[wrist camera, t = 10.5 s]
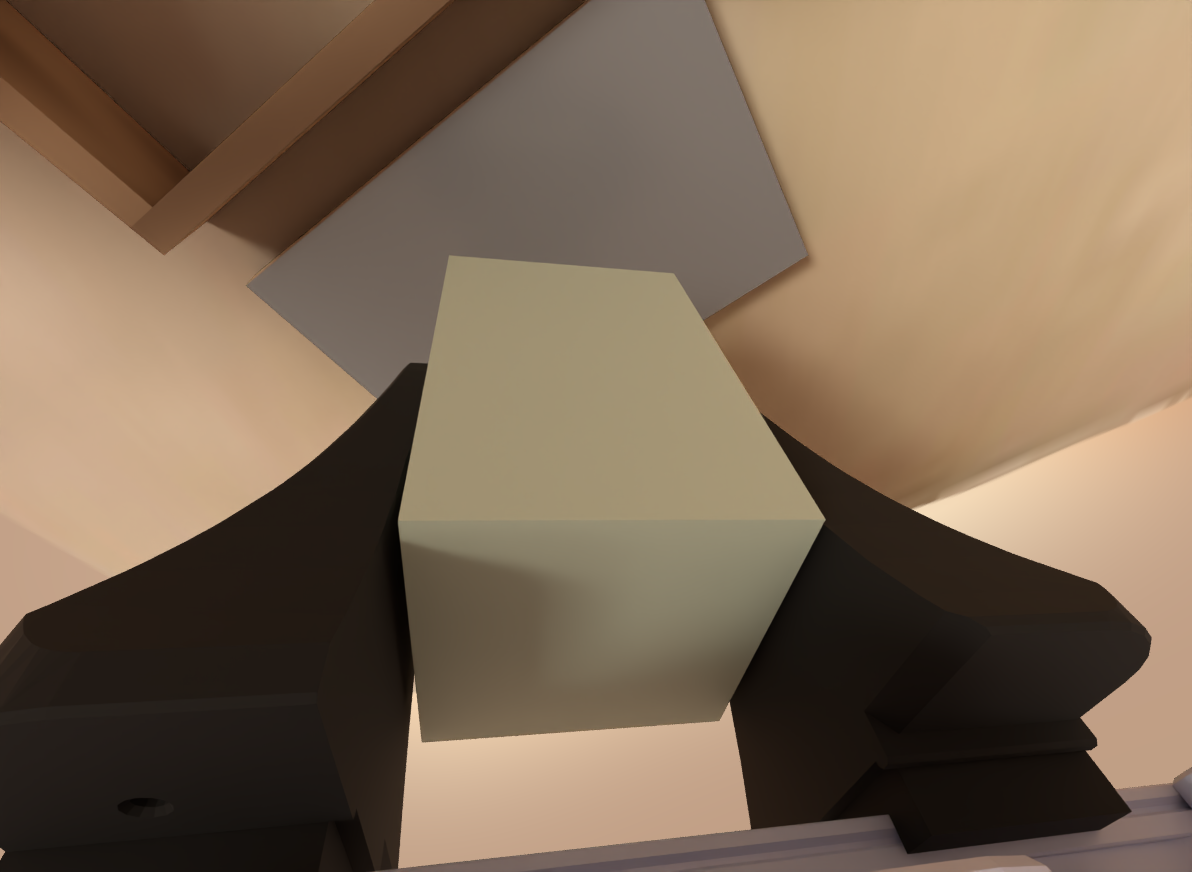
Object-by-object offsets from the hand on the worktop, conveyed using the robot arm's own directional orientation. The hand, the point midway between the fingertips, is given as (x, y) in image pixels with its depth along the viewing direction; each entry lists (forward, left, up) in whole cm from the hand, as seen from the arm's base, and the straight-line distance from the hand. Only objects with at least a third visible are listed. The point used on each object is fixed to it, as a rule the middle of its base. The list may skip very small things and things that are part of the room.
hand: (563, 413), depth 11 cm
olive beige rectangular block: (0, 0, -2) cm, 2 cm away
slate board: (0, 0, -8) cm, 8 cm away
